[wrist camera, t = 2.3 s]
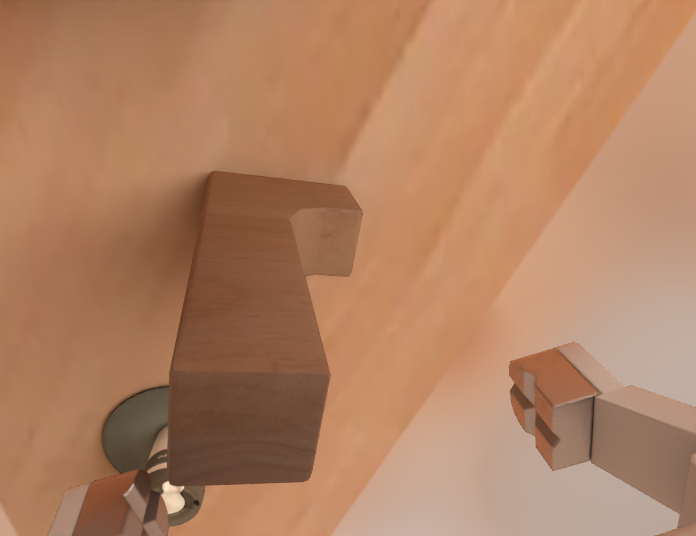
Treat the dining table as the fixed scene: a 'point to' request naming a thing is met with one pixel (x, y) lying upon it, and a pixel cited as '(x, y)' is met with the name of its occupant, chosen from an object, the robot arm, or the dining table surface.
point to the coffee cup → (149, 450)
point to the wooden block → (255, 331)
